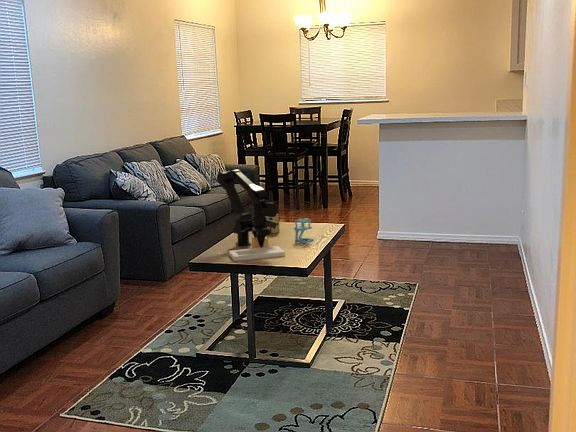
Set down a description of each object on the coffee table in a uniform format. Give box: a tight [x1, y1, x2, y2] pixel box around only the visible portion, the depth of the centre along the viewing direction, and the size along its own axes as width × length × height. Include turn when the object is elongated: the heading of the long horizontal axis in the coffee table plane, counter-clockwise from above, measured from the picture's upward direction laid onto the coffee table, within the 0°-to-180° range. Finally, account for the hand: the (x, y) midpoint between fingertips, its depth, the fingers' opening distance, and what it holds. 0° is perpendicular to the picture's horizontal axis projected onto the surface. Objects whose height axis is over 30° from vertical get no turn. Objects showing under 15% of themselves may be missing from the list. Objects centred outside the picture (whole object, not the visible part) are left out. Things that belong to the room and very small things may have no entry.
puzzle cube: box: [265, 213, 280, 234], centre depth 345 cm, size 10×10×10 cm
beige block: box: [251, 236, 270, 249], centre depth 310 cm, size 5×7×5 cm
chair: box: [293, 217, 315, 244], centre depth 321 cm, size 8×8×12 cm
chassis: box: [228, 245, 286, 262], centre depth 296 cm, size 12×24×2 cm, turn 107°
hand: (260, 246), depth 310 cm, fingers closed on beige block, 5 cm apart
